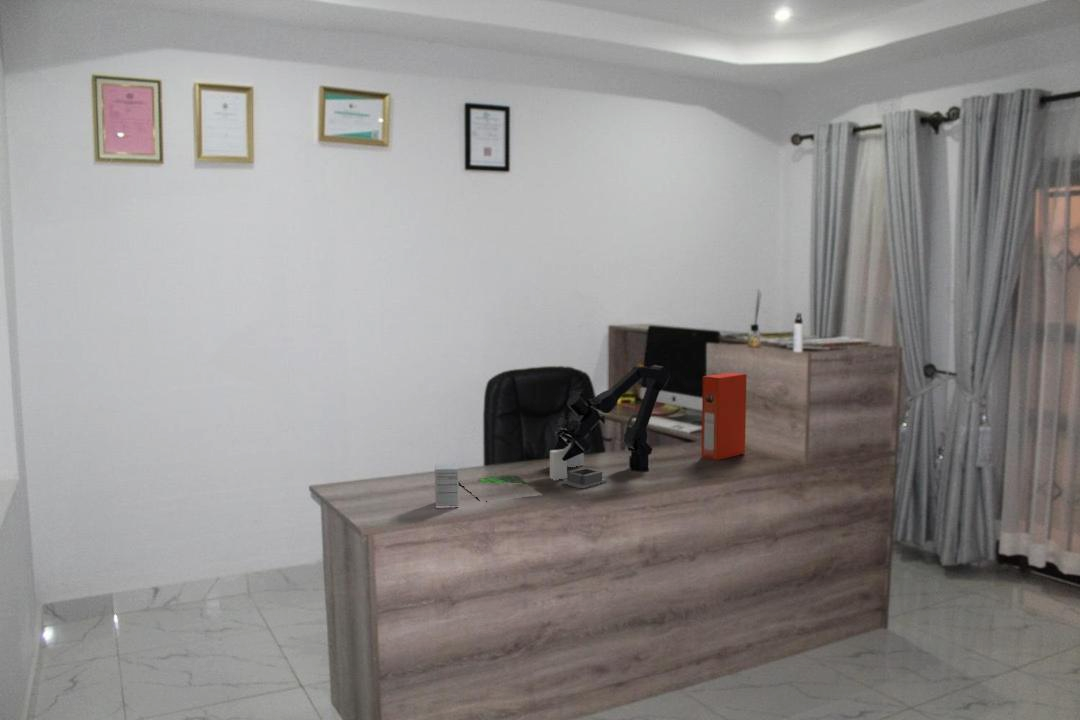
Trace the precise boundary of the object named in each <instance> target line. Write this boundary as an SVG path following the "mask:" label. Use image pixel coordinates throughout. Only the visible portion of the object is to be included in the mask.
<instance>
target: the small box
mask: <svg viewBox="0 0 1080 720" xmlns="http://www.w3.org/2000/svg"><path fill="white" fill-rule="evenodd" d="M564 429H565V428H564ZM565 430H566V429H565ZM567 444H568V443H567ZM568 445H569V446H567V447H566V448H564V449H563V450H565V451H568V449H569V448H570V446H571V443H569V444H568ZM584 458H585V453H582V454H579V455H577V456H575V457H572V458H570V459H568V460H567V468H570V467H571V468H572V467H573V468H577V467H576V466H578V467H581V465H582V466H584V465H585V463H584V461H585V460H584ZM571 468H570V469H571Z"/></svg>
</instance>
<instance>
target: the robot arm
mask: <svg viewBox="0 0 1080 720" xmlns="http://www.w3.org/2000/svg"><path fill="white" fill-rule="evenodd" d="M670 377H671V372H670V370H669V369H668V368H667V367H665V366H660V365H656V364H653V365H651V366H640V365H635V366H633V367H632V368H631V370H630V371H628V372H627V373H626V374H625V375H624V376H623V377H622V378H620V380H618V381H617V382H616V383H615V384H614V385H613V386H612V387H610V388H609V389H607V390H604V391H602V392H601V393H599V394H598V395H595V396H594V397H593V398H591V399H589V398H587V397H586V395H585V394H584V393H583V392H582V391H578V392H577V393H576V394H574V395H572V396H570V397H569V398H568V400H567V402H566V406H568V407H569V409H570V410H571V411H573V413H574V414H575V415H576V416H577V417H580V416H581V417H580V418H579V419H578V420H577V419H572V418H569V419H566V418H564V417H560V418H559V421H558V422H557V425H556V426H558V427H557V428H556V429H555V431H554V432H555V433H554V435H555V438H556V440H555V443H554V445H553V448H552V450H560V449H564V448H566V447H567V446H569V445H568V444H569V443H571V446H570V448H569V449H568V451H567V452H566V454H565V455H564V457H563V458H562V460H563V461H566V460H568V459H570V458H572V457H575V456H577V455H579V454H582V453H584V454H585V453H589V452H590V450H591V449H592V444H591V443H590V442H589V440H587V439H586V437H587V436H588V435H590V436H591V435H592V434H593V432H592V430H593V429H594V427H596V425H597V424H598V423H599V422H600V423H602V424H605V423H606V419H605V418H606V416H605V415H604V414H609V413H611V412H612V411H613V410H614V409H615V407H616V406H617V404H618V402H619V399H621V397H623V396H624V394H626V393H627V392H628V391H629V390H630V389H632V387H633V386H635V385H636V383H638V382H639V381H640V380H641V379H643V378H646V379H645V380H646V389H645V392H644V395H643V398H642V401H641V404H640V407H639V409H638V412H637V415H636V417H635V420H634V423H633V424H632V425H631V426H627V427H626V428H625V433H624V435H622V437H623V438H624V439H623V443H624V445H625V446H626V447H627V450H628V451H629V452H630V455H629V456H628V467H629V469H630V471H635V472H637V471H640V472H641V471H645V472H647V471H650V468H649V455H651V454H652V452H653V448H652V447H651V446H650V444H648V443H647V442H648V427H649V424H650V419H651V417H652V414H653V411H654V409H655V406H656V403H657V400H658V397H659V395H660V392H661V391H662V390H663V389H664V388H665V387H666V386H667V384H668V382H669V380H670ZM593 409H594V410H593ZM599 412H600V413H604V414H600V413H599ZM565 429H566V430H565ZM567 443H568V444H567Z"/></svg>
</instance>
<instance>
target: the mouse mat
mask: <svg viewBox="0 0 1080 720" xmlns="http://www.w3.org/2000/svg"><path fill="white" fill-rule="evenodd" d="M478 479H479V480H478V482H480V483H481V482H483V483H508V482H510V483H522V484H528V483H527V482H526V481H524V480H523V479H522V478H520V476H517V475H504V476H494V477H485V478H484V477H483V478H478ZM528 485H529V484H528ZM529 486H531V485H529Z"/></svg>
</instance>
